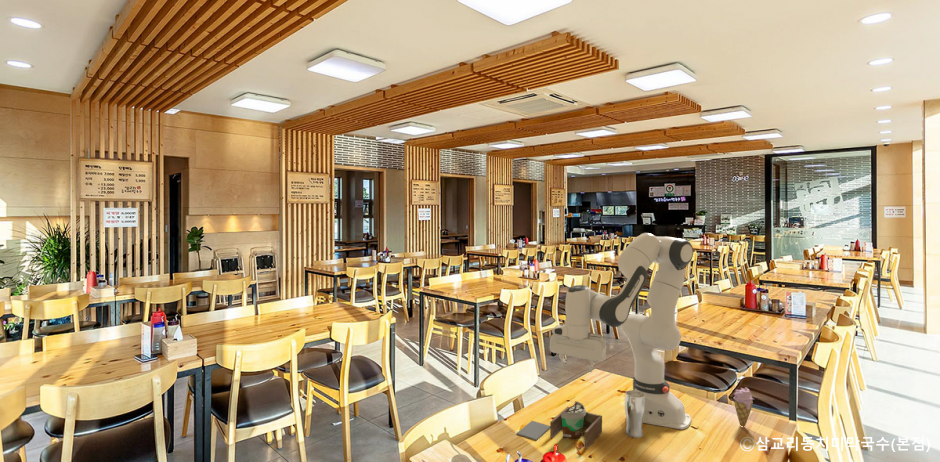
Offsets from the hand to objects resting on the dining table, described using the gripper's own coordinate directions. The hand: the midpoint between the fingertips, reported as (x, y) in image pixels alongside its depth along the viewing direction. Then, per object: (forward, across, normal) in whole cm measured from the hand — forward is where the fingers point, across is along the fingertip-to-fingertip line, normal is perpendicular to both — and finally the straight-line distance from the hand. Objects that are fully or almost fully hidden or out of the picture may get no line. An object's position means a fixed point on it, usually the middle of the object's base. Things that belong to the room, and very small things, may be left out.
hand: (576, 368), depth 165 cm
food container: (+25, 0, 0) cm, 25 cm away
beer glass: (+25, -17, -13) cm, 33 cm away
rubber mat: (+25, +14, +6) cm, 29 cm away
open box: (+24, 0, 0) cm, 25 cm away
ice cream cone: (+24, -49, -42) cm, 69 cm away
